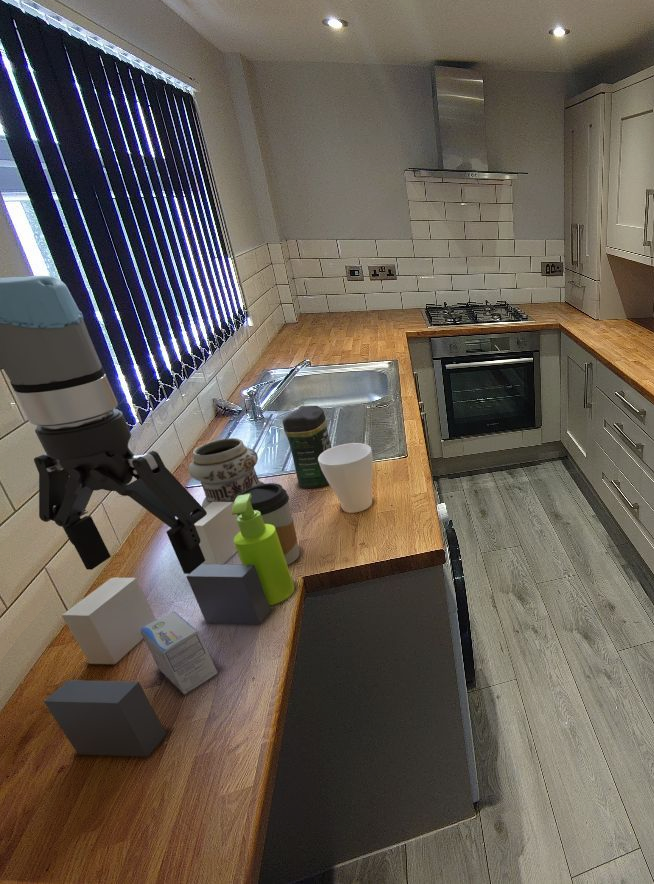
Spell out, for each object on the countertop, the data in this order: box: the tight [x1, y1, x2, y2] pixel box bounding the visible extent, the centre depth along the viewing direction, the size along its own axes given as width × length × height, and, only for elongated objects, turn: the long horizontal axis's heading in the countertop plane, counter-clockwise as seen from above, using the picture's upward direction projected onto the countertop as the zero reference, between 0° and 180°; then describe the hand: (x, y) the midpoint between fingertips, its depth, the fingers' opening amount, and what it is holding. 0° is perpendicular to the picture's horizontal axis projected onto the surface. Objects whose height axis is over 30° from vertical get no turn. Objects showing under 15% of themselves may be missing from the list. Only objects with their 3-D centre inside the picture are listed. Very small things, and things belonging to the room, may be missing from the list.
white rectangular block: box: [61, 577, 157, 665], centre depth 79 cm, size 4×8×10 cm, turn 178°
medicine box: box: [140, 611, 218, 695], centre depth 75 cm, size 8×4×9 cm, turn 58°
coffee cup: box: [237, 482, 301, 566], centre depth 97 cm, size 8×8×15 cm
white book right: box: [194, 502, 240, 565], centre depth 99 cm, size 4×8×10 cm, turn 178°
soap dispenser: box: [232, 493, 295, 606], centre depth 87 cm, size 6×7×20 cm
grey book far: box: [186, 564, 272, 625], centre depth 84 cm, size 9×3×10 cm, turn 88°
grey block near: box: [43, 679, 167, 757], centre depth 64 cm, size 9×3×10 cm, turn 88°
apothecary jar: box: [187, 437, 266, 516], centre depth 109 cm, size 12×12×18 cm
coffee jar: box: [282, 405, 333, 489], centre depth 125 cm, size 10×8×19 cm
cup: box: [318, 442, 374, 514], centre depth 114 cm, size 10×10×14 cm
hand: (146, 565), depth 69 cm, fingers open, 13 cm apart
